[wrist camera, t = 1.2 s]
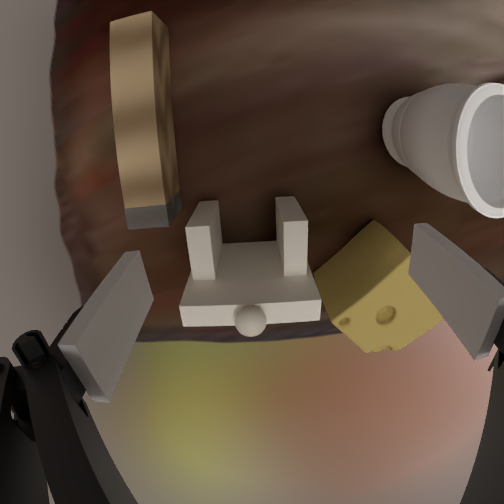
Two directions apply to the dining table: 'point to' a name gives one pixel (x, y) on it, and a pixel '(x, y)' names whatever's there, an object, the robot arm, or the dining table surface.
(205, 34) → the dining table surface
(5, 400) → the robot arm
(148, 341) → the dining table surface
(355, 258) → the cheese
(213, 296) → the white u-channel bracket
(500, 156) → the white cup
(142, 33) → the rail
